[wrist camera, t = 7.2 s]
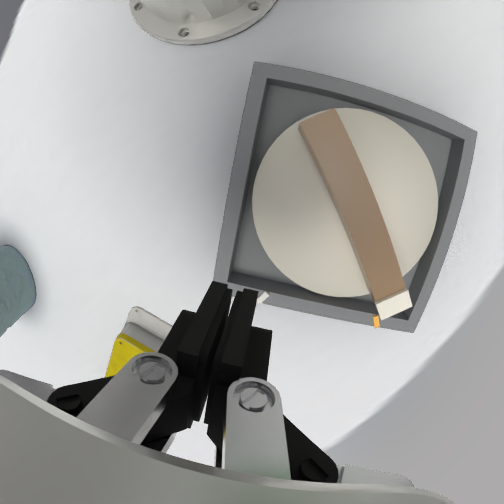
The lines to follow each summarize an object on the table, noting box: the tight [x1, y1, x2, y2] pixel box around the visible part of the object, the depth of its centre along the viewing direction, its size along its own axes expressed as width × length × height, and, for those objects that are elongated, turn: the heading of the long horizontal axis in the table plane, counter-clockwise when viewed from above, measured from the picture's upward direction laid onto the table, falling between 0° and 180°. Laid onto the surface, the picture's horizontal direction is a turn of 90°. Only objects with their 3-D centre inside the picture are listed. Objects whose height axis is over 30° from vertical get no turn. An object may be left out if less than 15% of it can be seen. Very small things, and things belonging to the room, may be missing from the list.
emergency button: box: [105, 307, 173, 377], centre depth 28 cm, size 9×4×15 cm
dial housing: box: [213, 62, 477, 333], centre depth 20 cm, size 16×16×3 cm
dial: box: [252, 108, 438, 320], centre depth 18 cm, size 13×13×6 cm
